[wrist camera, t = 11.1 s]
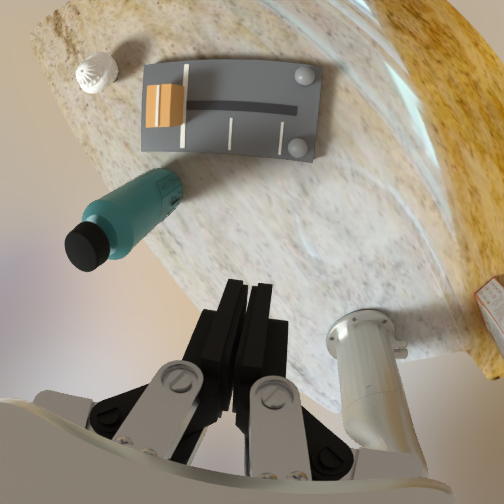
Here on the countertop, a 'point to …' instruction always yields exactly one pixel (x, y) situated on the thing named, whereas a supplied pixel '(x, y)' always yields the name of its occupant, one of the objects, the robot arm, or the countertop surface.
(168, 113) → the fader tab
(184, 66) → the console board
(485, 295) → the cracker box
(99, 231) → the beverage bottle
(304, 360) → the countertop surface
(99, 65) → the muffin
